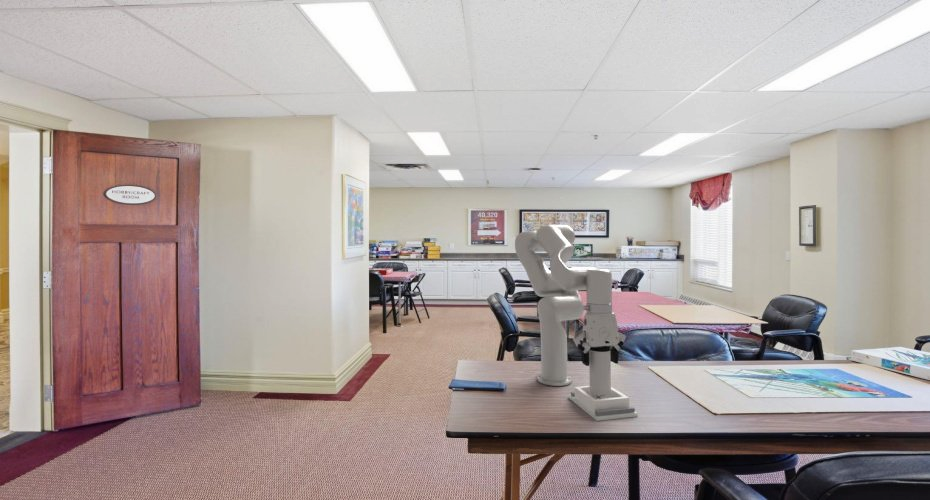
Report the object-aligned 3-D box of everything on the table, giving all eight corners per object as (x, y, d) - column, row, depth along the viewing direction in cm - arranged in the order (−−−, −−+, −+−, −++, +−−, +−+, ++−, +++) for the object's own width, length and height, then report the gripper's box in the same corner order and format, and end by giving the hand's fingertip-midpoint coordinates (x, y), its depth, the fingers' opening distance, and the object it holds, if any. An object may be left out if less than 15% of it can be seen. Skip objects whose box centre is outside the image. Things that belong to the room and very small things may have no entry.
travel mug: (601, 408, 121) (600, 342, 121) (585, 401, 127) (584, 338, 127) (616, 404, 124) (615, 339, 124) (600, 397, 130) (599, 335, 130)
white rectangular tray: (568, 397, 133) (568, 384, 133) (604, 394, 135) (604, 381, 135) (596, 420, 115) (596, 405, 115) (637, 416, 118) (637, 400, 117)
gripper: (579, 312, 120) (580, 369, 120) (631, 309, 123) (632, 365, 123) (568, 308, 127) (568, 362, 127) (617, 305, 130) (618, 358, 130)
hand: (600, 363), depth 125 cm, fingers open, 9 cm apart
